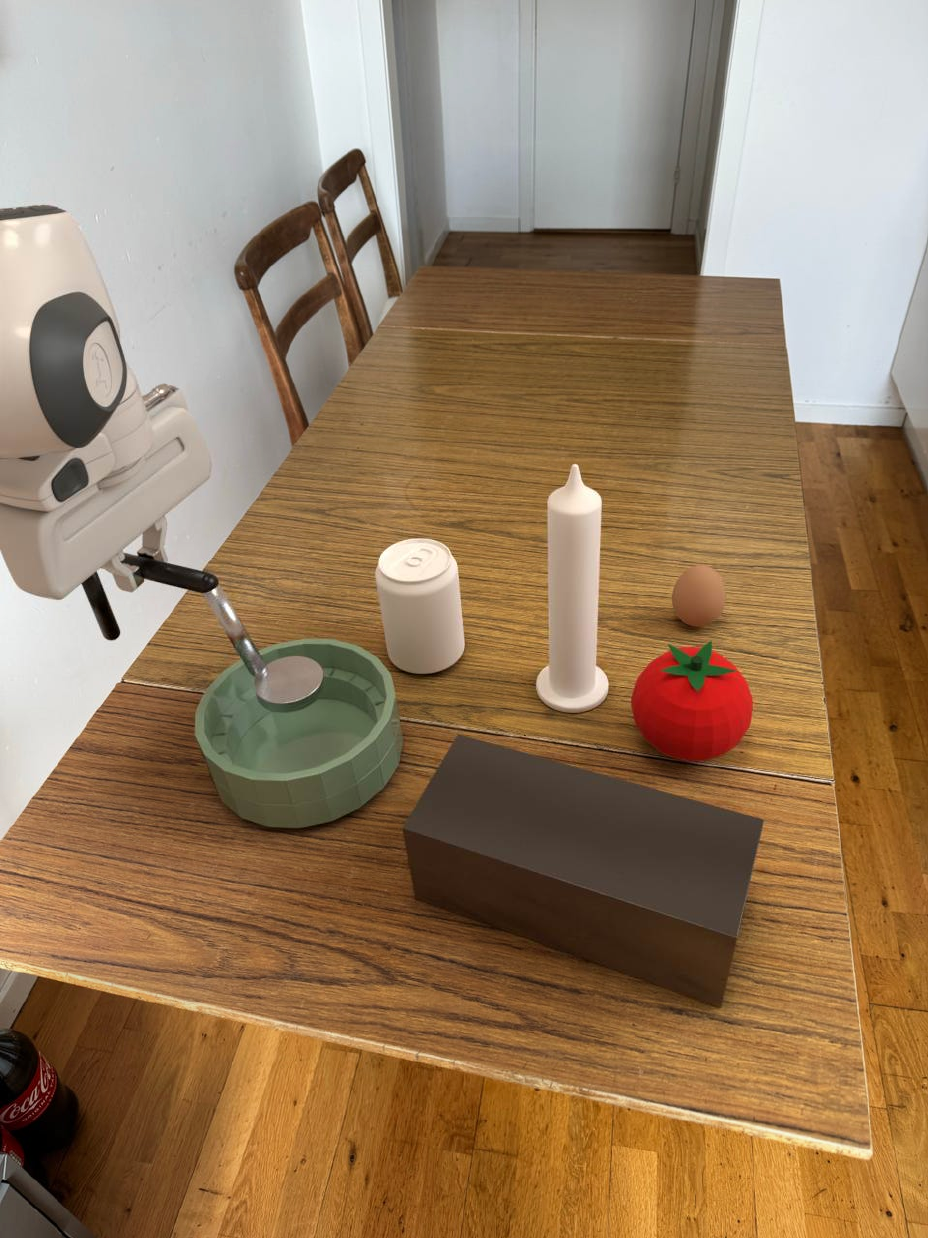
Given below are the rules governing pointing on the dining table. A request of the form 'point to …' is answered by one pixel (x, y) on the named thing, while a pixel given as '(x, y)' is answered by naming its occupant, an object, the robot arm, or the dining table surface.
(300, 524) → the dining table surface
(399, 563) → the beverage can
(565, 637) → the candle
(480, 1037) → the dining table surface
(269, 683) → the black and silver ladle
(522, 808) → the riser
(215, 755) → the bowl
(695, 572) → the egg
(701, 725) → the tomato
